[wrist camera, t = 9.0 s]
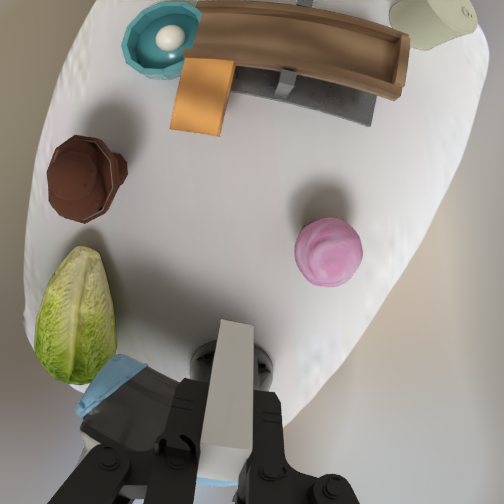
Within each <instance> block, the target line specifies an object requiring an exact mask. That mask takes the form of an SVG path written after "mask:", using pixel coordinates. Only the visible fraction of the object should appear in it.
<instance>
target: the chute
mask: <svg viewBox="0 0 504 504" xmlns="http://www.w3.org/2000/svg"><path fill="white" fill-rule="evenodd" d="M196 7H197V8H198V9H199V10H200V11H201V12H202V16H201V19H200V23H199V26H198V29H197V33H196V36H195V40H194V43H193V47H192V48H184V49H183V53H182V56H183V57H184V58H185V62H184V66H183V70H182V74H181V78H180V82H179V86H178V91H177V95H176V100H175V104H174V109H173V114H172V119H171V124H170V129H172V130H180V131H187V132H194V133H201V134H207V135H213V136H219V137H220V133H221V129H222V124H223V119H224V115H225V110H226V105H227V101H228V97H229V92H230V88H231V84H232V79H233V75H234V71H235V67H236V66H245V67H253V68H260V69H267V70H274V71H280V72H281V71H282V69H284V70H288V71H293V72H297V75H302V76H306V77H311V78H316V79H320V80H324V81H328V82H332V83H336V84H340V85H344V86H348V87H351V88H355V89H358V90H362V91H365V92H368V93H371V94H375V95H378V96H381V97H384V98H387V99H389V100H392V101H395V100H396V99H397V98H399V97H400V96H401V91H402V87H403V86H405V80H406V73H407V66H408V58H409V50H410V41H411V38H409V34H407V33H404V32H401V31H398V30H396V29H393V28H390V27H387V26H384V25H381V24H377V23H374V22H371V21H367V20H364V19H360V18H356V17H352V16H348V15H344V14H340V13H335V12H331V11H326V10H321V9H315V8H309V7H303V6H296V5H289V4H281V3H271V2H258V1H238V0H206V1H198V3H197V6H196Z"/></svg>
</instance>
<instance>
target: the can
mask: <svg viewBox="0 0 504 504" xmlns="http://www.w3.org/2000/svg"><path fill="white" fill-rule="evenodd" d="M389 19H390V23H391V26H392V28H393V29H396V30H398V31H401V32H404V33H407V34H409V38H411V41H410V46H411V47H413V48H415V49H418V50H423V51H426V50H430V49H432V48H434V47H435V46H437V45H439V44H442V43H444V42H447V41H449V40H452V39H454V38H457V37H460V36H463V35H466V34H470V33H473V32H474V31H475V30H476V28H477V15H476V12H475V10H474V8H473V6H472V4H471V2H470V1H469V0H401V1H400V2H398V3H396V4H395V5H393V6H392V7H391V9H390V13H389Z"/></svg>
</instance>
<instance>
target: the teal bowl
mask: <svg viewBox="0 0 504 504" xmlns="http://www.w3.org/2000/svg"><path fill="white" fill-rule="evenodd" d="M201 16H202V12H201V11H200V10H198V9H197V8H195V7H193V6H191V5H190V4H188V3H186V2H182V1H165V2H161V3H158V4H156V5H154V6H152V7H149V8H147V9H145V10H143V11H142V12H141V13H140V14H139V15H138V16H137V17H136V18H135V19H134V20H133V21H132V22H131V23H130V24H129V25H128V27H127V29H126V32H125V35H124V39H123V42H122V45H121V46H122V50H123V53H124V57H125V60H126V63H127V64H128V65H130V66H131V67H133V68H134V69H135V70H137V71H138V72H140V73H141V74H143V75H145V76H146V77H148V78H150V79H166V80H170V79H174V78H176V77H178V76H181V74H182V70H183V66H184V62H185V58H184V57H183V56H182V53H183V49H184V48H192V47H193V43H194V40H195V36H196V33H197V29H198V26H199V23H200V19H201ZM198 22H199V23H198ZM168 25H176V26H179V27H180V28H182V29H183V31H184V33H185V41H184V43H183V45H182V46H181V47H180V48H178V49H177V50H174V51H164V50H162V49H160V48H159V47H158V46H157V44H156V35H157V33H158V32H159V30H160V29H162V28H163V27H165V26H168ZM140 64H141V65H140Z"/></svg>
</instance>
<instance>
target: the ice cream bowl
mask: <svg viewBox="0 0 504 504" xmlns="http://www.w3.org/2000/svg"><path fill="white" fill-rule="evenodd" d="M127 175H128V171H127V162H126V161H125V160H124V159H123V157H122V156H121V155H120V154H116V153H111V151H110V150H109V149H108V147H107V146H106V145H105V144H104V142H103V141H102V140H100V139H97V138H91V137H85V136H79V135H74V136H73V137H71V138H70V139H68V140H67V141H65V142H64V143H63V144H61V145H60V146H58V147H57V148H56V149H55V152H54V154H53V157H52V159H51V162H50V165H49V167H48V170H47V180H48V188H49V189H48V191H49V192H48V194H49V202H50V204H51V206H52V207H53V208H54V209H55V210H56V212H57V213H58V214H59V215H60V216H62V217H64V218H65V219H70V220H74V221H77V222H80V223H84V224H85V223H87V222H89V221H91V220H93V219H95V218H97V217H99V216H101V215H103V214H105V213H106V212H107V210H108V209H109V207H110V205H111V203H112V201H113V199H114V197H115V194H116V192H117V190H118V188H119V186H120V185H122V184H123V182H124V180H125V179H126V177H127Z"/></svg>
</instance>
